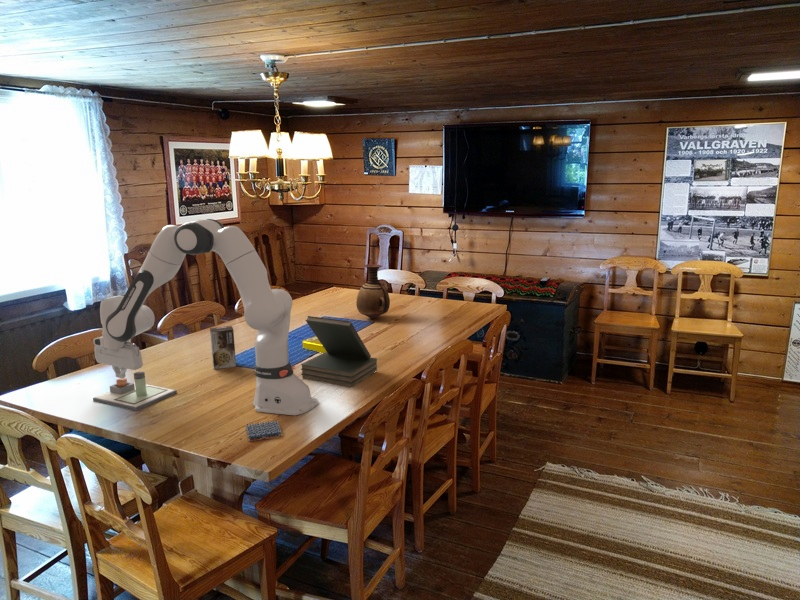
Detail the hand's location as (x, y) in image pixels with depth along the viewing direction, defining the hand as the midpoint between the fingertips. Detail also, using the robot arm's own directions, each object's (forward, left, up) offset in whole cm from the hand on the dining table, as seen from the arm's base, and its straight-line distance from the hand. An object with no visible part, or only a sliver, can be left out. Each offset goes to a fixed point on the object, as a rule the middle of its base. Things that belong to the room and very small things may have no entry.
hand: (120, 377), depth 207 cm
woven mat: (-67, +4, -7) cm, 67 cm away
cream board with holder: (-7, 0, -6) cm, 9 cm away
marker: (-10, 0, -5) cm, 11 cm away
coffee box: (-12, -40, -7) cm, 42 cm away
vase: (-31, -137, -7) cm, 141 cm away
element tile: (-35, -80, -7) cm, 87 cm away
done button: (0, 0, -3) cm, 3 cm away
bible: (-61, -51, -7) cm, 80 cm away
